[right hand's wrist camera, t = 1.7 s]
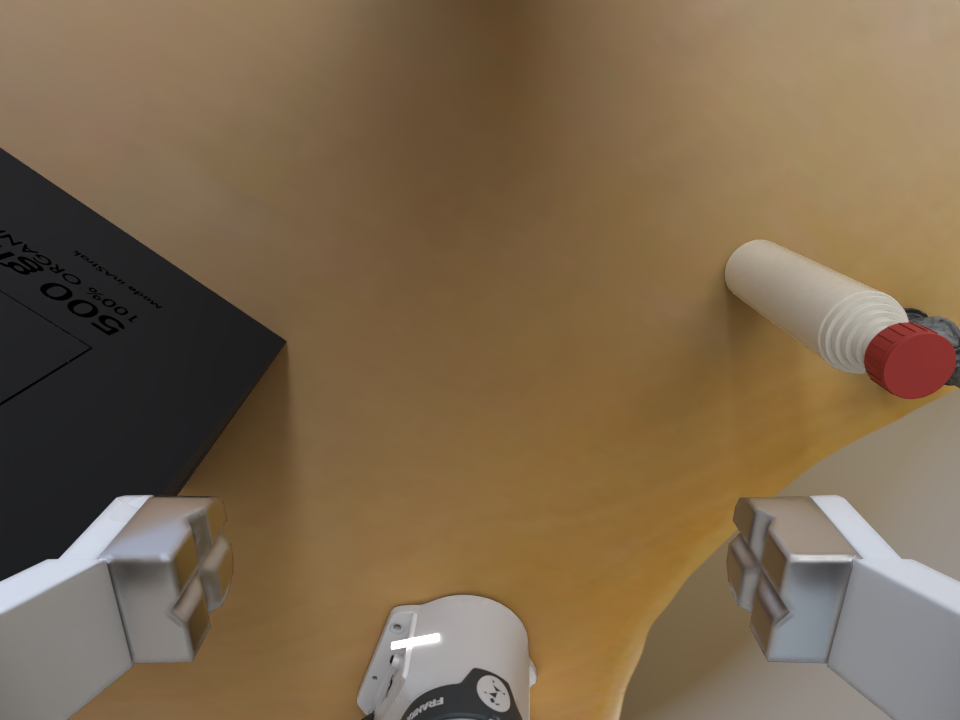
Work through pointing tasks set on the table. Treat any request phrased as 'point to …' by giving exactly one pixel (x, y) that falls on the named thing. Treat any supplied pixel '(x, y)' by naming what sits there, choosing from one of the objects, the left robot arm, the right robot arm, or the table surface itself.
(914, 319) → the grey stepped cylinder
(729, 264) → the bottle
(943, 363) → the cap
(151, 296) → the black tall box
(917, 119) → the table surface
